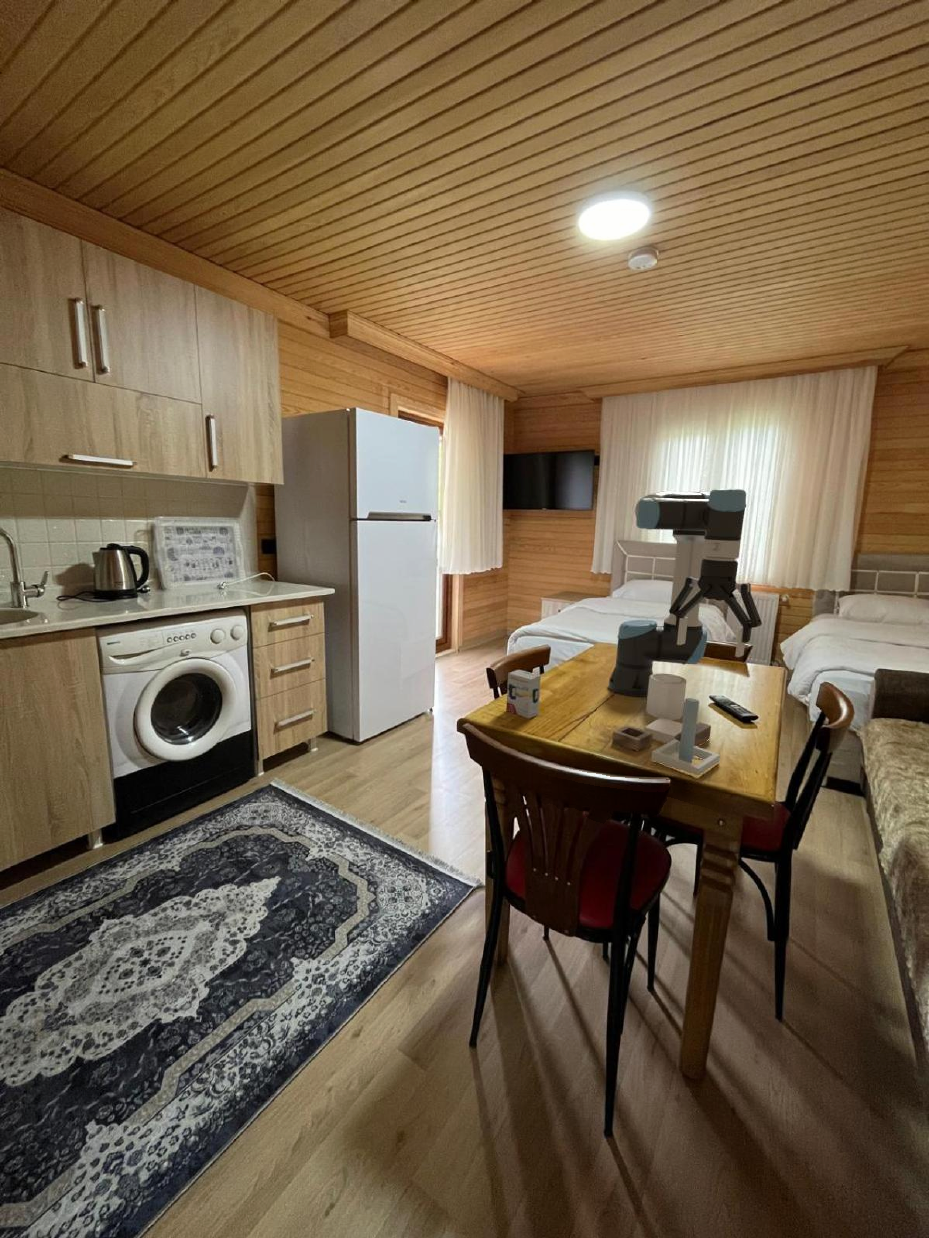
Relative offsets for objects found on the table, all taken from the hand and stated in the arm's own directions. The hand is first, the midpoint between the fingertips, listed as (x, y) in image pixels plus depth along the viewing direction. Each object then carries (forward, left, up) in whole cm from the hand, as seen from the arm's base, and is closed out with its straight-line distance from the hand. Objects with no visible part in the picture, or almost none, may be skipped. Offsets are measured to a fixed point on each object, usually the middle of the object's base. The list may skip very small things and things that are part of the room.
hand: (709, 649), depth 126 cm
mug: (-19, +20, -27) cm, 39 cm away
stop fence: (-3, +6, -27) cm, 28 cm away
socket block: (-14, -6, -27) cm, 31 cm away
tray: (0, -6, -27) cm, 27 cm away
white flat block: (-11, +6, -27) cm, 30 cm away
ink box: (-46, -12, -27) cm, 55 cm away
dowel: (0, -6, -26) cm, 27 cm away
